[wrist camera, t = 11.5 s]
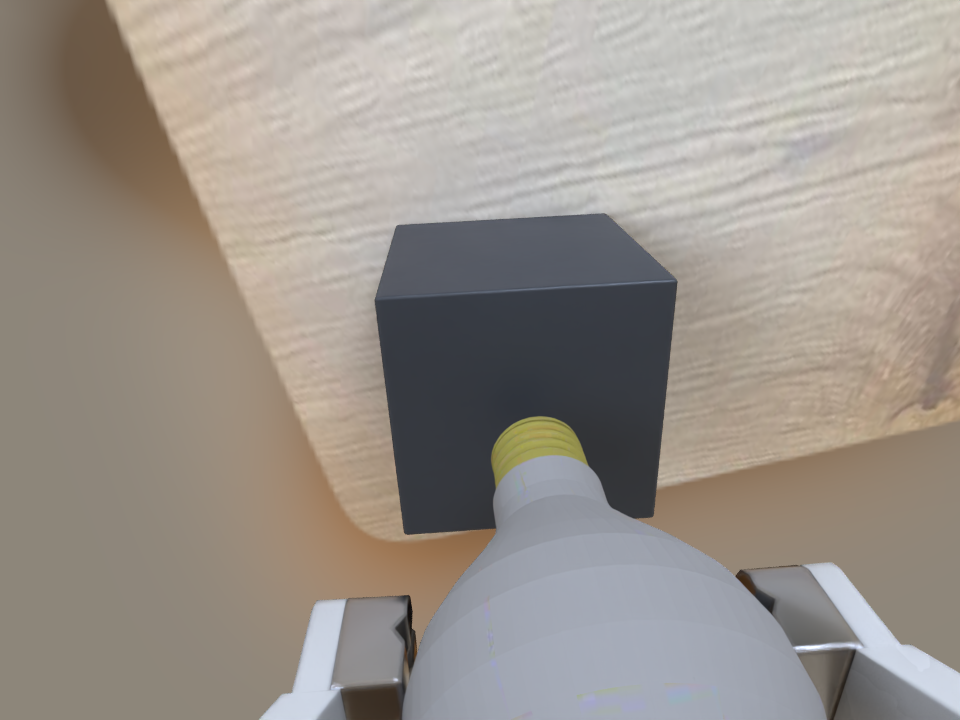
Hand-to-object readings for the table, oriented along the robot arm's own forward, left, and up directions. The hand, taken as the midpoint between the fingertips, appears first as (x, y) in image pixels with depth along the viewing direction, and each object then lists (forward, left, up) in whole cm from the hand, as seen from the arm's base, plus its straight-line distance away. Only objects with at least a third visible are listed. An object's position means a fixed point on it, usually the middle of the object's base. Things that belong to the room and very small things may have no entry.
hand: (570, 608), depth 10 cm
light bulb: (0, 0, -5) cm, 5 cm away
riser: (0, 0, -13) cm, 13 cm away
